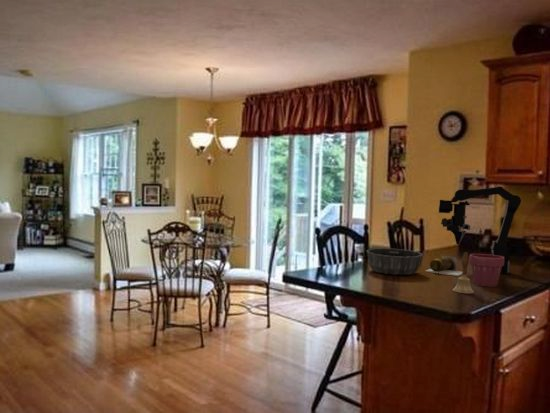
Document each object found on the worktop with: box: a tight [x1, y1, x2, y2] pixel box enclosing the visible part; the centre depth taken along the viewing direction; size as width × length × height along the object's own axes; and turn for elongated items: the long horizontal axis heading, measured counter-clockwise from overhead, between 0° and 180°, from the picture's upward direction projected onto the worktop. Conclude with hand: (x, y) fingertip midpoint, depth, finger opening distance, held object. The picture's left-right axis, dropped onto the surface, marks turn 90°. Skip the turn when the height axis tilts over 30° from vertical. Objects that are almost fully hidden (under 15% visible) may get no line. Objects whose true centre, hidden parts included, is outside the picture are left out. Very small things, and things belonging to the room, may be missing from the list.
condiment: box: [429, 254, 457, 271], centre depth 260 cm, size 7×8×12 cm
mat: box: [424, 268, 463, 277], centre depth 258 cm, size 16×11×1 cm
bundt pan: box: [366, 247, 423, 276], centre depth 253 cm, size 26×26×10 cm
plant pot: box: [468, 253, 504, 288], centre depth 230 cm, size 14×14×13 cm
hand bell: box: [452, 251, 475, 295], centre depth 213 cm, size 8×8×16 cm
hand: (457, 244), depth 270 cm, fingers closed
